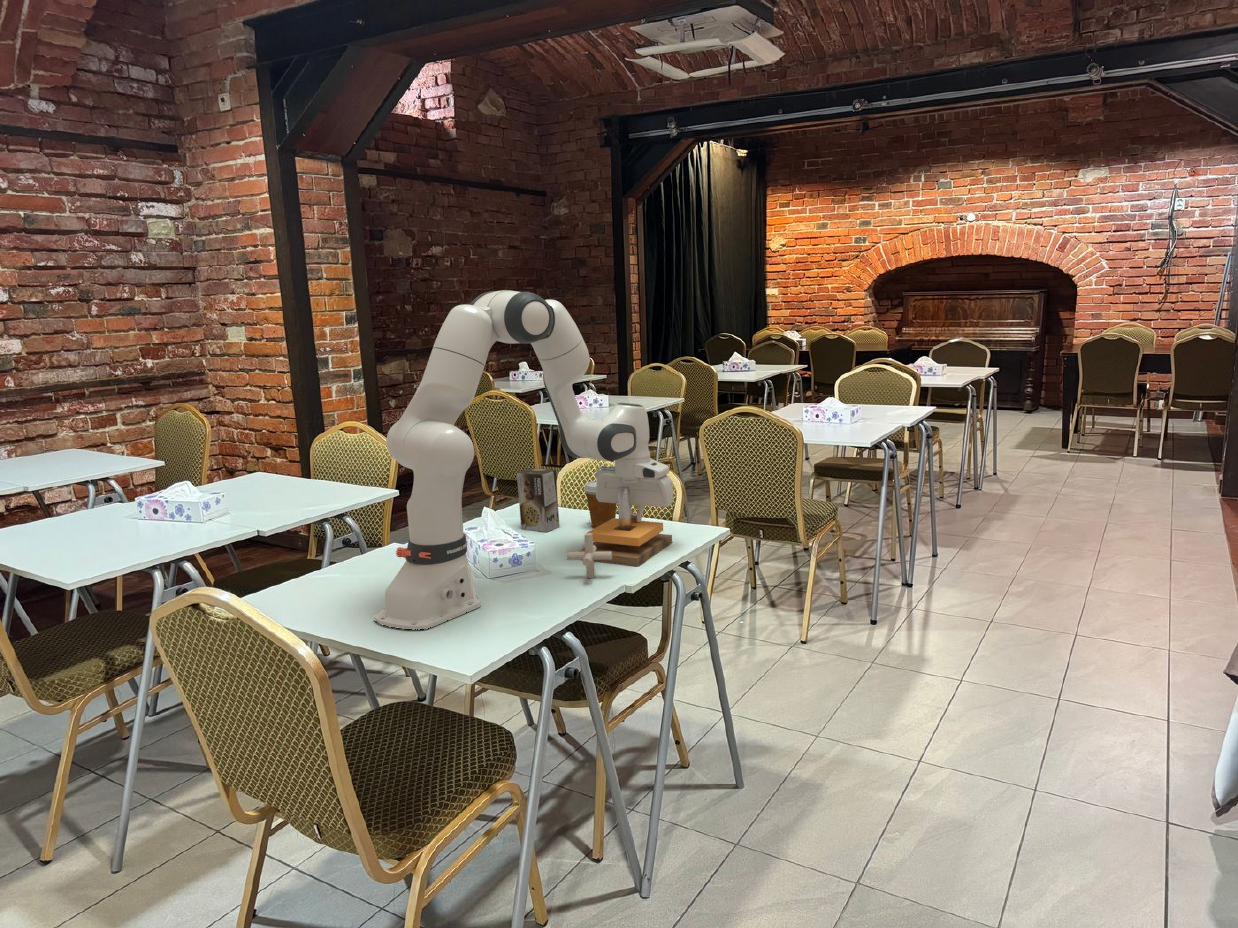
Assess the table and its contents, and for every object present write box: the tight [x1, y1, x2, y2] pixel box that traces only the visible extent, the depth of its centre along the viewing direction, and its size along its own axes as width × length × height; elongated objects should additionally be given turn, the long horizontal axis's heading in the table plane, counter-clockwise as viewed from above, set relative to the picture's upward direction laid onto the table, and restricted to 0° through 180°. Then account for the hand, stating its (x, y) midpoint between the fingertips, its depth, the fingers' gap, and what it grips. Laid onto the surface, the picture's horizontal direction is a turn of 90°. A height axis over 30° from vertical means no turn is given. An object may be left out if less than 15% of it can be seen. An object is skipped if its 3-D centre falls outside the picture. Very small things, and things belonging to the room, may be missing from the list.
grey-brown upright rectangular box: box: [516, 467, 560, 533], centre depth 232 cm, size 9×6×16 cm
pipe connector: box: [566, 532, 612, 579], centre depth 191 cm, size 10×10×10 cm
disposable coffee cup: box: [583, 479, 618, 529], centre depth 231 cm, size 10×10×12 cm
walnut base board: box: [577, 533, 673, 567], centre depth 209 cm, size 20×16×2 cm
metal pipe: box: [615, 486, 632, 546], centre depth 208 cm, size 6×6×14 cm
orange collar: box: [586, 517, 664, 546], centre depth 209 cm, size 14×14×2 cm
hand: (634, 521), depth 213 cm, fingers closed
